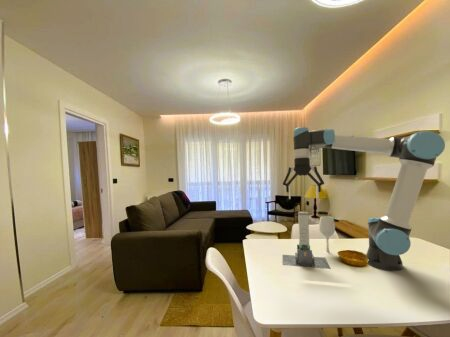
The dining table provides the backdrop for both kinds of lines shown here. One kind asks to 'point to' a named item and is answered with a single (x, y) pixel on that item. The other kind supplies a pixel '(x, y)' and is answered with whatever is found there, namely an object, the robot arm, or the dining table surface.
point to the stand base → (305, 259)
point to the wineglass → (327, 228)
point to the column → (303, 230)
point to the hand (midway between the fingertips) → (303, 198)
